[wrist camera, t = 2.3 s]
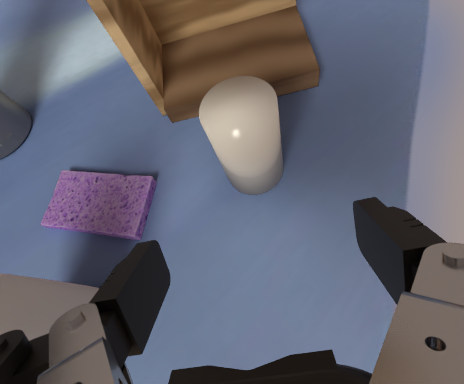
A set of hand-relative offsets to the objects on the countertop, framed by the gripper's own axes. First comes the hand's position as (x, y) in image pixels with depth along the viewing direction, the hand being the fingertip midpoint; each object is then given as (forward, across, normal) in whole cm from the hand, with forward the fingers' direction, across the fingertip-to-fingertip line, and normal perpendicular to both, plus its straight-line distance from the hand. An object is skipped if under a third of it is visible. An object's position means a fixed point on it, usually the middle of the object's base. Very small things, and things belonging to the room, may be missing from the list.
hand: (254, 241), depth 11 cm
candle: (+19, 0, +2) cm, 19 cm away
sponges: (+19, +18, +3) cm, 27 cm away
